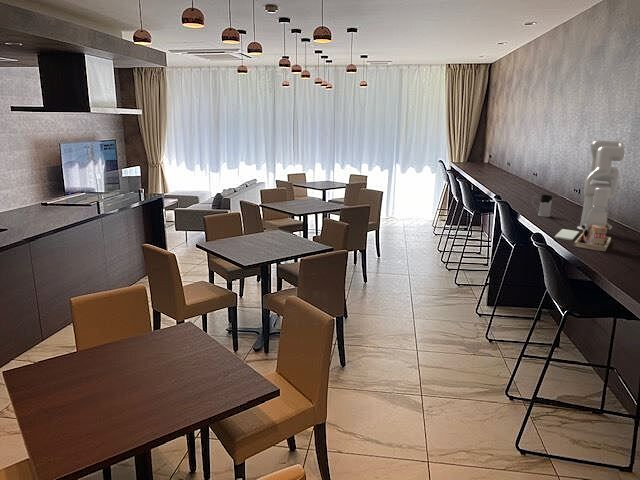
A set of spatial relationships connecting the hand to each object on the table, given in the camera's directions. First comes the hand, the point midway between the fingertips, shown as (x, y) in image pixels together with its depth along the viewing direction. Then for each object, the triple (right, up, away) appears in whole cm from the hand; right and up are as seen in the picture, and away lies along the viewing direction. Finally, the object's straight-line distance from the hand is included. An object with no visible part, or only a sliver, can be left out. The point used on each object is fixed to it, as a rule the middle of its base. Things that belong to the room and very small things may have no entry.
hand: (593, 237), depth 295 cm
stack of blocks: (0, -4, +2) cm, 4 cm away
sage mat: (-6, +2, +20) cm, 21 cm away
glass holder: (+4, +17, +82) cm, 84 cm away
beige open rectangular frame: (0, -4, +1) cm, 4 cm away
